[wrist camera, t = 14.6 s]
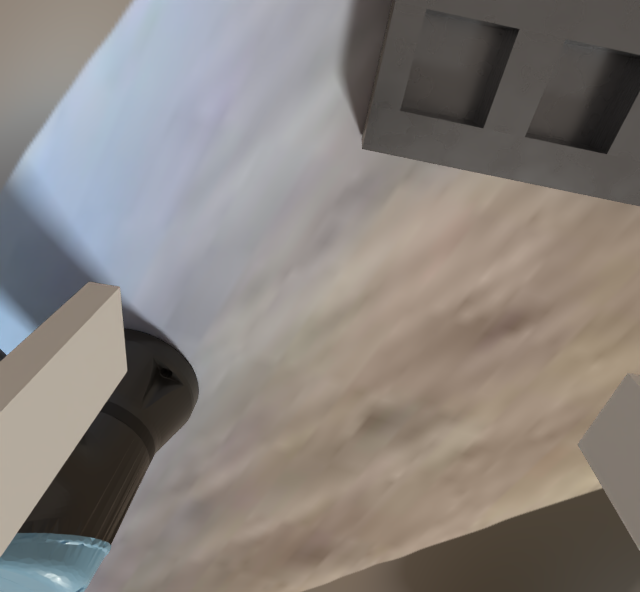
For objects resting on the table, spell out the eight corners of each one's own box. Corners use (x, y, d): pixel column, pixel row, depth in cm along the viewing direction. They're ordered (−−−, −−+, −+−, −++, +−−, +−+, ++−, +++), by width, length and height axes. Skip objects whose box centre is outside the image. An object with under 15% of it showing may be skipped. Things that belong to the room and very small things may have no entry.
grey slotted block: (361, 138, 34) (362, 148, 31) (402, -47, 28) (409, -60, 25) (690, 206, 35) (726, 224, 32) (801, 40, 29) (860, 40, 26)
